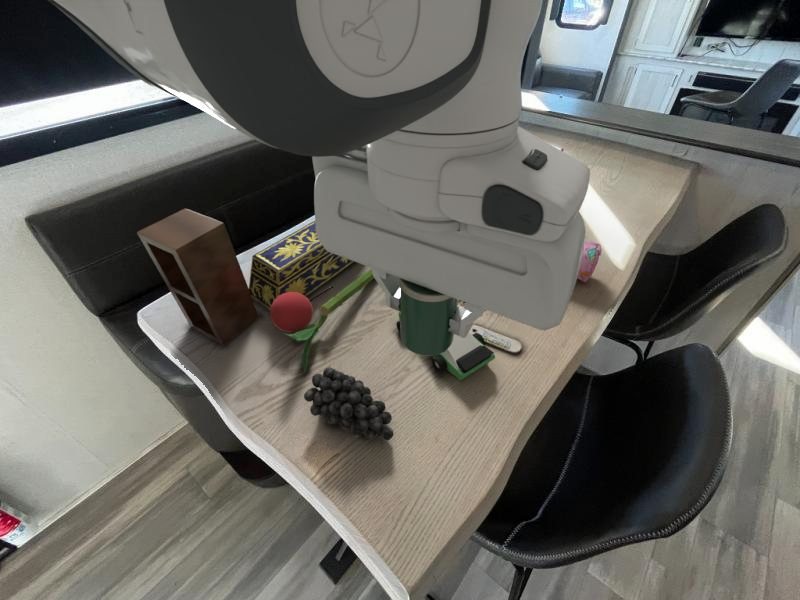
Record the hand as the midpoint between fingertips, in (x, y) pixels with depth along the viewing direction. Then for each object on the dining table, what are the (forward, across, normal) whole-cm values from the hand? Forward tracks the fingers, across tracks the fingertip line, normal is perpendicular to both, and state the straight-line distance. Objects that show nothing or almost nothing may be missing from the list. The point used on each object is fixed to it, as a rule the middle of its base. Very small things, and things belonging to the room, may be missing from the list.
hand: (428, 317), depth 32 cm
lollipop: (+28, -34, +24) cm, 50 cm away
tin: (+2, 0, 0) cm, 2 cm away
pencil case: (+30, +2, +56) cm, 64 cm away
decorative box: (+30, -43, +28) cm, 60 cm away
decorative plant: (+31, -29, +19) cm, 46 cm away
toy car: (+31, -8, +23) cm, 39 cm away
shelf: (+31, -48, +6) cm, 57 cm away
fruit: (+31, -13, +2) cm, 33 cm away
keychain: (+30, 0, +29) cm, 42 cm away
